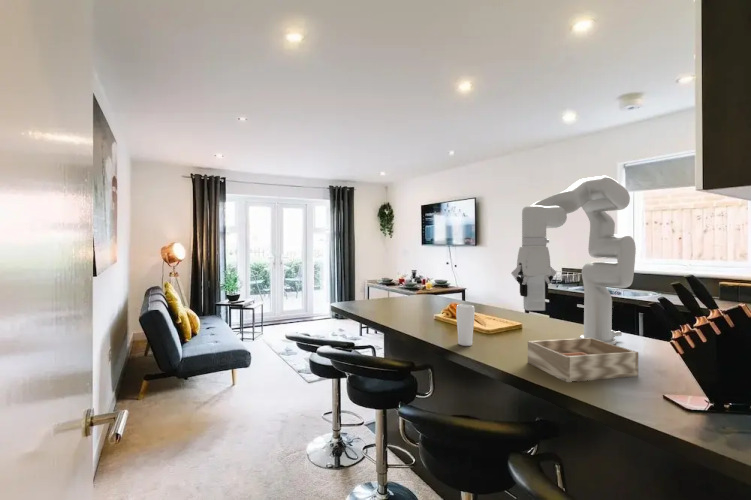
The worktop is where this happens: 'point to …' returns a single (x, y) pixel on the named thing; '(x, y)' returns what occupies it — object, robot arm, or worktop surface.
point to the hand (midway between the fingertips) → (533, 295)
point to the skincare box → (535, 293)
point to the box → (582, 359)
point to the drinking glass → (465, 324)
